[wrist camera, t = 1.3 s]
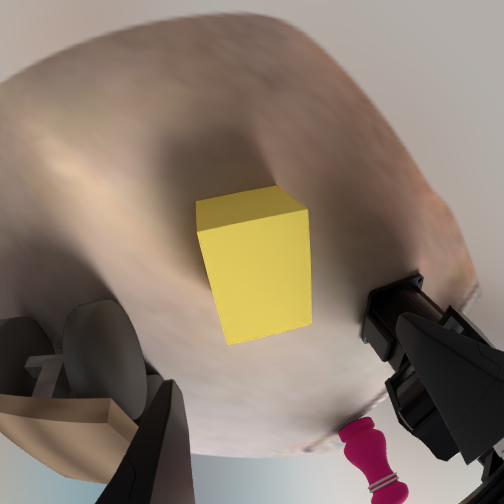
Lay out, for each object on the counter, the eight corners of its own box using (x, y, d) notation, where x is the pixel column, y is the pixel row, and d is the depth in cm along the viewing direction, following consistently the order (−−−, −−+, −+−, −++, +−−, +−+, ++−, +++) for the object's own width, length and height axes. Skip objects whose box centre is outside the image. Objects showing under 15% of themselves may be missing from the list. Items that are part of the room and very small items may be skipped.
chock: (276, 185, 16) (307, 209, 12) (286, 279, 20) (311, 324, 15) (195, 200, 16) (196, 232, 11) (218, 295, 19) (227, 345, 15)
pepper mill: (368, 426, 39) (410, 505, 21) (333, 440, 38) (372, 526, 21) (377, 409, 36) (427, 499, 18) (338, 426, 35) (383, 524, 17)
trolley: (122, 273, 17) (82, 399, 8) (189, 402, 24) (199, 490, 15) (3, 301, 15) (-47, 385, 6) (87, 410, 23) (77, 483, 14)
